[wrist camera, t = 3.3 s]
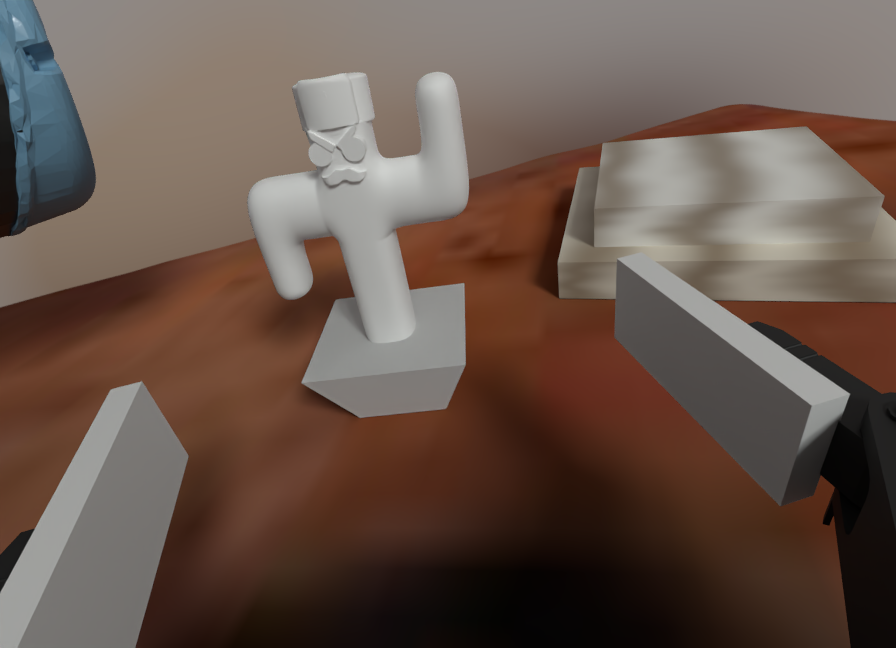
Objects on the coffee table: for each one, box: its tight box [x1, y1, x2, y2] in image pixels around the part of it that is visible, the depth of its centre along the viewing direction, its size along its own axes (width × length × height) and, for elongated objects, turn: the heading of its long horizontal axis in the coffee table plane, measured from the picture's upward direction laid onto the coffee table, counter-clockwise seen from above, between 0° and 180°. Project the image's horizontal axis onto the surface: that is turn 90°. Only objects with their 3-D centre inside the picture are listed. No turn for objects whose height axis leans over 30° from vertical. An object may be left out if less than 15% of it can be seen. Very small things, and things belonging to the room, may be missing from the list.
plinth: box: [558, 127, 896, 302], centre depth 34 cm, size 18×18×5 cm
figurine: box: [247, 72, 469, 418], centre depth 23 cm, size 7×9×15 cm
